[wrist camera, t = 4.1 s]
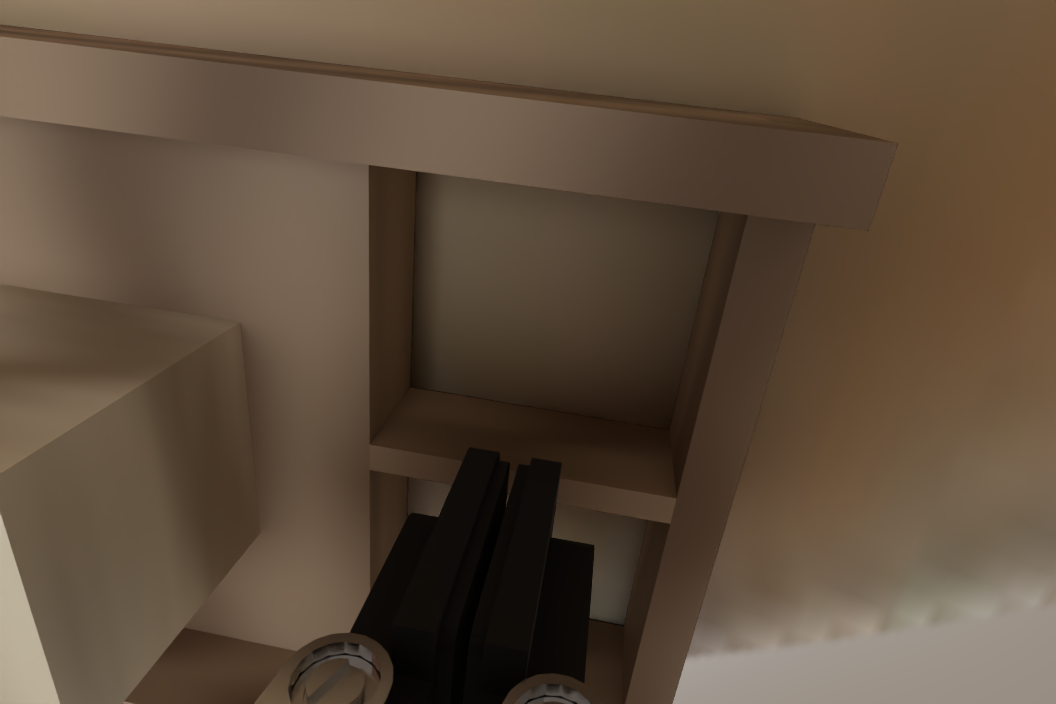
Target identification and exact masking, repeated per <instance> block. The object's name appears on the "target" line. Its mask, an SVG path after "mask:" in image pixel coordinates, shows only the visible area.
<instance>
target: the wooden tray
mask: <svg viewBox="0 0 1056 704" xmlns="http://www.w3.org/2000/svg"><path fill="white" fill-rule="evenodd" d="M897 146H898V143H894V142H890V141H886V140H882V139H879V138H875V137H871V136H867V135H863V134H859V133H855V132H851V131H847V130H843V129H839V128H835V127H831V126H828V125H824V124H820V123H816V122H812V121H808V120H804V119H800V118H791V117H783V116H774V115H766V114H757V113H749V112H740V111H732V110H723V109H715V108H706V107H698V106H689V105H681V104H672V103H664V102H655V101H646V100H638V99H629V98H621V97H612V96H604V95H595V94H587V93H578V92H570V91H561V90H553V89H544V88H536V87H527V86H519V85H510V84H502V83H493V82H485V81H476V80H467V79H459V78H450V77H442V76H433V75H425V74H416V73H408V72H399V71H391V70H382V69H374V68H365V67H357V66H348V65H340V64H331V63H323V62H314V61H306V60H297V59H288V58H280V57H271V56H263V55H254V54H246V53H237V52H229V51H220V50H212V49H203V48H195V47H186V46H178V45H169V44H161V43H152V42H144V41H135V40H126V39H118V38H109V37H101V36H92V35H84V34H75V33H67V32H58V31H50V30H41V29H33V28H24V27H16V26H7V25H0V284H4V285H11V286H17V287H23V288H29V289H36V290H42V291H48V292H54V293H61V294H67V295H73V296H79V297H86V298H92V299H98V300H104V301H111V302H117V303H123V304H129V305H136V306H142V307H148V308H154V309H161V310H167V311H173V312H179V313H186V314H192V315H198V316H204V317H210V318H217V319H223V320H229V321H235V322H240V328H241V338H242V349H243V359H244V369H245V380H246V390H247V400H248V410H249V421H250V431H251V441H252V452H253V462H254V472H255V483H256V493H257V503H258V514H259V524H260V534H259V535H258V537H257V538H256V539H255V540H254V541H253V543H252V544H251V545H250V546H249V548H248V549H247V550H246V551H245V553H244V554H243V555H242V556H241V558H240V559H239V560H238V561H237V562H236V564H235V565H234V566H233V567H232V569H231V570H230V571H229V572H228V574H227V575H226V576H225V577H224V579H223V580H222V581H221V582H220V583H219V585H218V586H217V587H216V588H215V590H214V591H213V592H212V593H211V595H210V596H209V597H208V598H207V600H206V601H205V602H204V603H203V604H202V606H201V607H200V608H199V609H198V611H197V612H196V613H195V614H194V616H193V617H192V618H191V619H190V621H189V622H188V623H187V624H186V625H185V627H184V628H183V629H182V630H181V632H180V633H179V634H178V635H177V637H176V638H175V639H174V640H173V642H172V643H171V644H170V645H169V646H168V648H167V649H166V650H165V651H164V653H163V654H162V655H161V656H160V658H159V659H158V660H157V661H156V663H155V664H154V665H153V666H152V667H151V669H150V670H149V671H148V672H147V674H146V675H145V676H144V677H143V679H142V680H141V681H140V682H139V684H138V685H137V686H136V687H135V688H134V690H133V691H132V692H131V693H130V695H129V696H128V697H127V698H126V700H125V701H124V702H123V703H122V704H253V703H255V701H256V700H257V699H258V698H259V696H260V695H261V694H262V693H263V691H264V690H265V689H266V687H267V686H268V685H269V684H270V682H271V681H272V680H273V678H274V677H275V676H276V675H277V673H278V672H279V671H280V669H281V668H282V667H283V666H284V664H285V663H286V662H287V661H288V660H289V659H290V658H291V657H292V656H293V655H294V654H295V653H296V652H297V651H298V650H299V649H300V648H302V647H303V646H305V645H307V644H308V643H310V642H312V641H313V640H315V639H318V638H321V637H324V636H327V635H330V634H336V633H350V631H351V629H352V627H353V625H354V623H355V621H356V619H357V617H358V615H359V613H360V611H361V609H362V607H363V605H364V603H365V601H366V599H367V597H368V595H369V593H370V591H371V589H372V587H373V585H374V583H375V581H376V579H377V577H378V575H379V573H380V571H381V569H382V567H383V565H384V563H385V561H386V559H387V557H388V555H389V553H390V551H391V549H392V547H393V545H394V543H395V541H396V539H397V537H398V535H399V533H400V531H401V529H402V527H403V525H404V523H405V521H406V520H407V486H408V477H412V478H418V479H423V480H429V481H435V482H440V483H446V484H451V485H453V482H454V480H455V478H456V476H457V473H458V471H459V469H460V466H461V464H462V462H463V459H464V457H465V455H466V452H467V450H468V449H469V447H472V448H478V449H484V450H490V451H496V452H499V453H500V460H501V461H507V462H510V471H509V481H508V491H507V495H510V492H511V489H512V485H513V482H514V478H515V475H516V471H517V468H518V465H519V464H524V465H530V463H531V459H532V458H538V459H544V460H550V461H556V462H562V467H561V474H560V481H559V488H558V495H557V502H556V503H557V504H562V505H568V506H574V507H579V508H585V509H590V510H596V511H601V512H607V513H613V514H618V515H624V516H629V517H635V518H640V519H646V520H648V524H647V528H646V532H645V537H644V541H643V545H642V550H641V554H640V558H639V563H638V567H637V571H636V576H635V580H634V584H633V589H632V593H631V597H630V602H629V606H628V610H627V614H626V619H625V623H624V626H619V625H614V624H609V623H604V622H599V621H594V620H589V629H588V642H587V656H586V669H585V683H584V684H586V685H587V686H588V687H590V688H591V689H592V690H593V691H594V692H595V693H596V694H597V695H599V696H600V698H601V699H602V701H603V702H604V704H672V703H673V700H674V697H675V693H676V690H677V686H678V683H679V679H680V676H681V672H682V670H683V666H684V663H685V660H686V656H687V653H688V650H689V646H690V643H691V639H692V636H693V633H694V629H695V626H696V623H697V619H698V616H699V613H700V609H701V606H702V603H703V599H704V596H705V592H706V589H707V586H708V582H709V579H710V576H711V572H712V569H713V566H714V562H715V559H716V556H717V552H718V549H719V546H720V542H721V539H722V535H723V532H724V529H725V525H726V522H727V519H728V515H729V512H730V509H731V505H732V502H733V499H734V495H735V492H736V488H737V485H738V482H739V478H740V475H741V472H742V468H743V465H744V462H745V458H746V455H747V452H748V448H749V445H750V442H751V438H752V435H753V431H754V428H755V425H756V421H757V418H758V415H759V411H760V408H761V405H762V401H763V398H764V395H765V391H766V388H767V384H768V381H769V378H770V374H771V371H772V368H773V364H774V361H775V358H776V354H777V351H778V348H779V344H780V341H781V338H782V334H783V331H784V327H785V324H786V321H787V317H788V314H789V311H790V307H791V304H792V301H793V297H794V294H795V291H796V287H797V284H798V280H799V277H800V274H801V270H802V267H803V264H804V260H805V257H806V254H807V250H808V247H809V244H810V240H811V237H812V234H813V230H814V227H815V224H819V225H827V226H834V227H842V228H850V229H857V230H865V231H869V229H870V226H871V223H872V220H873V217H874V214H875V211H876V208H877V205H878V202H879V199H880V196H881V193H882V191H883V188H884V185H885V182H886V179H887V176H888V173H889V170H890V167H891V164H892V161H893V158H894V155H895V152H896V149H897ZM416 171H419V172H427V173H434V174H442V175H449V176H457V177H464V178H472V179H479V180H487V181H495V182H502V183H510V184H517V185H525V186H532V187H540V188H547V189H555V190H563V191H570V192H578V193H585V194H593V195H600V196H608V197H615V198H623V199H631V200H638V201H646V202H653V203H661V204H668V205H676V206H683V207H691V208H698V209H706V210H714V211H720V213H719V217H718V222H717V226H716V230H715V235H714V239H713V243H712V247H711V252H710V256H709V260H708V265H707V269H706V273H705V278H704V282H703V286H702V291H701V295H700V299H699V304H698V308H697V312H696V317H695V321H694V325H693V330H692V334H691V338H690V342H689V347H688V351H687V355H686V360H685V364H684V368H683V373H682V377H681V381H680V386H679V390H678V394H677V399H676V403H675V407H674V412H673V416H672V420H671V425H670V429H669V430H665V429H659V428H653V427H647V426H641V425H635V424H629V423H623V422H617V421H611V420H605V419H599V418H593V417H587V416H581V415H575V414H568V413H562V412H556V411H550V410H544V409H538V408H532V407H526V406H520V405H514V404H508V403H502V402H496V401H490V400H484V399H478V398H472V397H466V396H460V395H454V394H448V393H442V392H436V391H430V390H424V389H418V388H412V387H410V377H411V340H412V304H413V267H414V231H415V195H416Z"/></svg>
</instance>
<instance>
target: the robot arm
mask: <svg viewBox="0 0 1056 704" xmlns="http://www.w3.org/2000/svg"><path fill="white" fill-rule="evenodd" d="M561 467H562V462H556V461H550V460H544V459H538V458H532V459H531V463H530V465H524V464H519V465H518V468H517V471H516V475H515V478H514V482H513V485H512V489H511V492H510V496H509V499H508V503H507V506H506V500H507V491H508V481H509V471H510V462H507V461H501V460H500V453H499V452H496V451H490V450H484V449H478V448H472V447H469V449H468V450H467V452H466V455H465V457H464V459H463V462H462V464H461V466H460V469H459V471H458V473H457V476H456V478H455V480H454V482H453V485H452V487H451V489H450V492H449V494H448V496H447V499H446V501H445V503H444V505H443V508H442V510H441V512H440V515H439V517H434V516H428V515H423V514H417V513H411V514H410V515H409V516H408V518H407V520H406V521H405V523H404V525H403V527H402V529H401V531H400V533H399V535H398V537H397V539H396V541H395V543H394V545H393V547H392V549H391V551H390V553H389V555H388V557H387V559H386V561H385V563H384V565H383V567H382V569H381V571H380V573H379V575H378V577H377V579H376V581H375V583H374V585H373V587H372V589H371V591H370V593H369V595H368V597H367V599H366V601H365V603H364V605H363V607H362V609H361V611H360V613H359V615H358V617H357V619H356V621H355V623H354V625H353V627H352V629H351V631H350V633H336V634H330V635H327V636H324V637H321V638H318V639H315V640H313V641H312V642H310V643H308V644H307V645H305V646H303V647H302V648H300V649H299V650H298V651H297V652H296V653H295V654H294V655H293V656H292V657H291V658H290V659H289V660H288V661H287V662H286V663H285V664H284V666H283V667H282V668H281V669H280V671H279V672H278V673H277V675H276V676H275V677H274V678H273V680H272V681H271V682H270V684H269V685H268V686H267V687H266V689H265V690H264V691H263V693H262V694H261V695H260V696H259V698H258V699H257V700H256V701H255V703H253V704H604V702H603V701H602V699H601V698H600V696H599V695H597V694H596V693H595V692H594V691H593V690H592V689H591V688H590V687H588V686H587V685H586V684H584V683H585V669H586V656H587V642H588V629H589V615H590V602H591V588H592V575H593V561H594V545H590V544H585V543H579V542H573V541H568V540H562V539H557V538H551V537H552V530H553V523H554V516H555V509H556V502H557V495H558V488H559V481H560V474H561Z"/></svg>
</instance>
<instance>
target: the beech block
mask: <svg viewBox="0 0 1056 704" xmlns="http://www.w3.org/2000/svg"><path fill="white" fill-rule="evenodd" d="M259 534H260V524H259V514H258V503H257V493H256V483H255V472H254V462H253V452H252V441H251V431H250V421H249V410H248V400H247V390H246V380H245V369H244V359H243V349H242V338H241V328H240V322H235V321H229V320H223V319H217V318H210V317H204V316H198V315H192V314H186V313H179V312H173V311H167V310H161V309H154V308H148V307H142V306H136V305H129V304H123V303H117V302H111V301H104V300H98V299H92V298H86V297H79V296H73V295H67V294H61V293H54V292H48V291H42V290H36V289H29V288H23V287H17V286H11V285H4V284H0V704H122V703H123V702H124V701H125V700H126V698H127V697H128V696H129V695H130V693H131V692H132V691H133V690H134V688H135V687H136V686H137V685H138V684H139V682H140V681H141V680H142V679H143V677H144V676H145V675H146V674H147V672H148V671H149V670H150V669H151V667H152V666H153V665H154V664H155V663H156V661H157V660H158V659H159V658H160V656H161V655H162V654H163V653H164V651H165V650H166V649H167V648H168V646H169V645H170V644H171V643H172V642H173V640H174V639H175V638H176V637H177V635H178V634H179V633H180V632H181V630H182V629H183V628H184V627H185V625H186V624H187V623H188V622H189V621H190V619H191V618H192V617H193V616H194V614H195V613H196V612H197V611H198V609H199V608H200V607H201V606H202V604H203V603H204V602H205V601H206V600H207V598H208V597H209V596H210V595H211V593H212V592H213V591H214V590H215V588H216V587H217V586H218V585H219V583H220V582H221V581H222V580H223V579H224V577H225V576H226V575H227V574H228V572H229V571H230V570H231V569H232V567H233V566H234V565H235V564H236V562H237V561H238V560H239V559H240V558H241V556H242V555H243V554H244V553H245V551H246V550H247V549H248V548H249V546H250V545H251V544H252V543H253V541H254V540H255V539H256V538H257V537H258V535H259Z"/></svg>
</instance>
